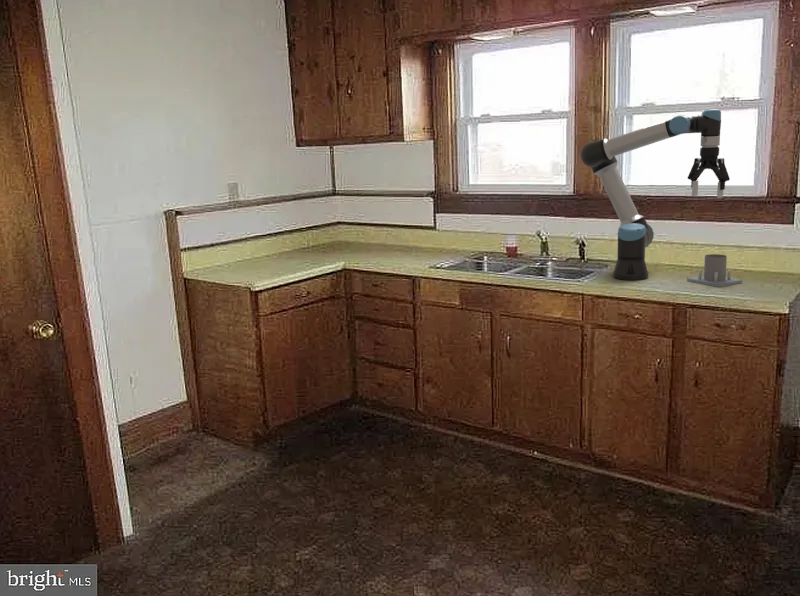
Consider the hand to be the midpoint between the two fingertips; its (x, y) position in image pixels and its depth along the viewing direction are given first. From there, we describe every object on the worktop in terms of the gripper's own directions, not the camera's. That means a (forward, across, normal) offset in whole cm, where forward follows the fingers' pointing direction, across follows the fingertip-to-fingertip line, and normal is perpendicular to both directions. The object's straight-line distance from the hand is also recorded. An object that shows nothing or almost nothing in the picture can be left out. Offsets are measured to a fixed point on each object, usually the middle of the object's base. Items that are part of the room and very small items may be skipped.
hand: (707, 196), depth 307 cm
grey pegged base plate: (+35, +13, -7) cm, 38 cm away
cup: (+34, +13, -7) cm, 37 cm away
